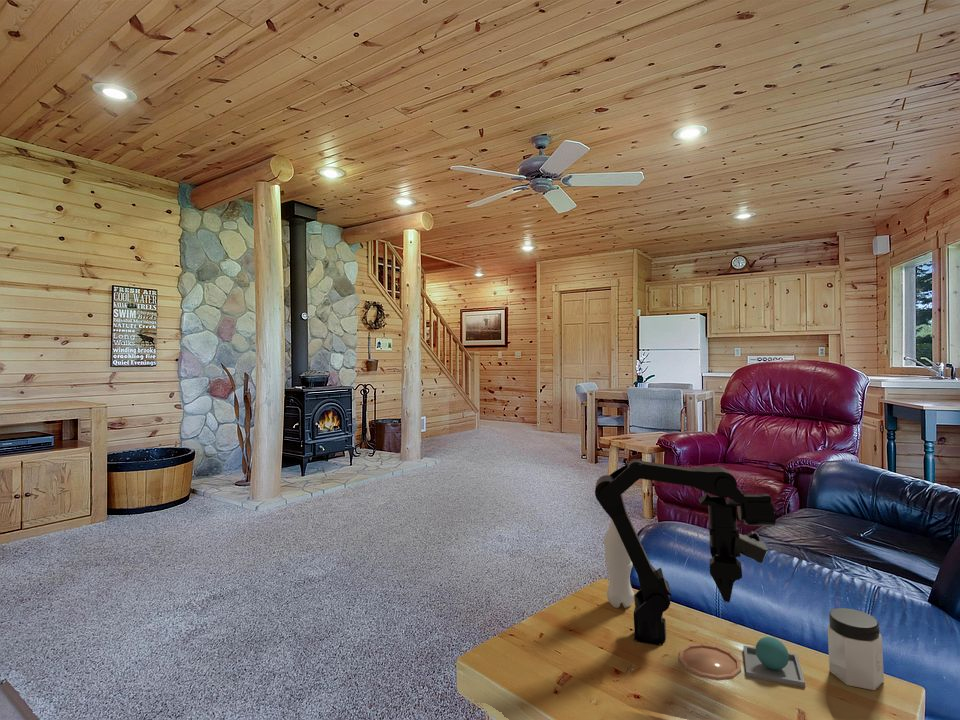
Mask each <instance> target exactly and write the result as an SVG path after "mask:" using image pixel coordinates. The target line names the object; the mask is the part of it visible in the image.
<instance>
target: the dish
mask: <svg viewBox="0 0 960 720" xmlns="http://www.w3.org/2000/svg"><path fill="white" fill-rule="evenodd" d="M678 656H679V657H678V661H679V662H680V663H681V664H682V666H684V667H685V669H686V670H688V671H689V672H692V673H693V674H696V675H698V676H700V677H704V678H708V679H713V680H718V681H719V680H726V679H727V680H728V679H733V678H735V677H736V676H737V675H739V674H740V673H742V663H741V662H742V661H741V660H740V659H739V657H737V656H736V655H735V654H734V653H733V652H732V651H730V650H727V649H726V648H724V647H721V646H718V645H713V644H708V643H692V644H687V645H686V646H683V648H681V649H680V650H679V654H678Z"/></svg>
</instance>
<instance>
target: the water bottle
mask: <svg viewBox="0 0 960 720" xmlns="http://www.w3.org/2000/svg"><path fill="white" fill-rule="evenodd" d="M609 523H610V524H609V527H608V529H607V531H606V533H605V535H604V539H603V545H604V557H605V560H604V564H605V566H606V569H607V571H608V577H609V578H608V586H607V589H606V597H607V600H608V602H609V603H610V604H611V605H612V607H613V608H616V609H620V606H621V604H622V606H623V608H624V609H627V608H629V607H631V606H632V604H633V602H634V595H635V592H634V590H633V587H632V584H631V577H630V576H631V572H632V570H633V567H634V566H633V564H632V561H631V559H630V557H629V555H628V553H627V551H626V548H625V546H624V544H623V542H622V540H621V538H620V535H619V533H618V531H617V529H616V527H615V525H614V522H613V520H612V519H611V517H610V516H609Z"/></svg>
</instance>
